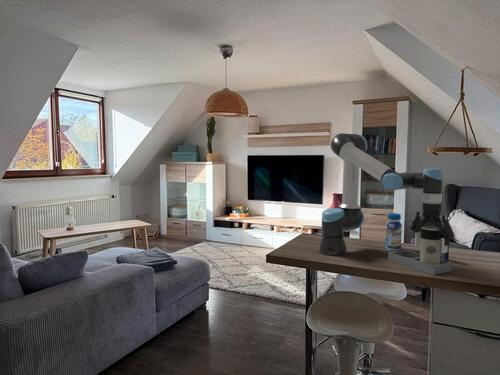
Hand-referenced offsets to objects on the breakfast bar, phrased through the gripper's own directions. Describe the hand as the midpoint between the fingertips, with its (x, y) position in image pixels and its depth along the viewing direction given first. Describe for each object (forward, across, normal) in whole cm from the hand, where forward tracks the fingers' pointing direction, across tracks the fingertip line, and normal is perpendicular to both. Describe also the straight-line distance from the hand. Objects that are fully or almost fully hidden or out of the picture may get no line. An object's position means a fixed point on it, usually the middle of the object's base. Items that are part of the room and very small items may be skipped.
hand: (430, 249), depth 150 cm
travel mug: (+8, 0, 0) cm, 8 cm away
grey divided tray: (+9, -6, 0) cm, 11 cm away
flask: (+9, -8, +18) cm, 22 cm away
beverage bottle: (+9, -33, +14) cm, 37 cm away
